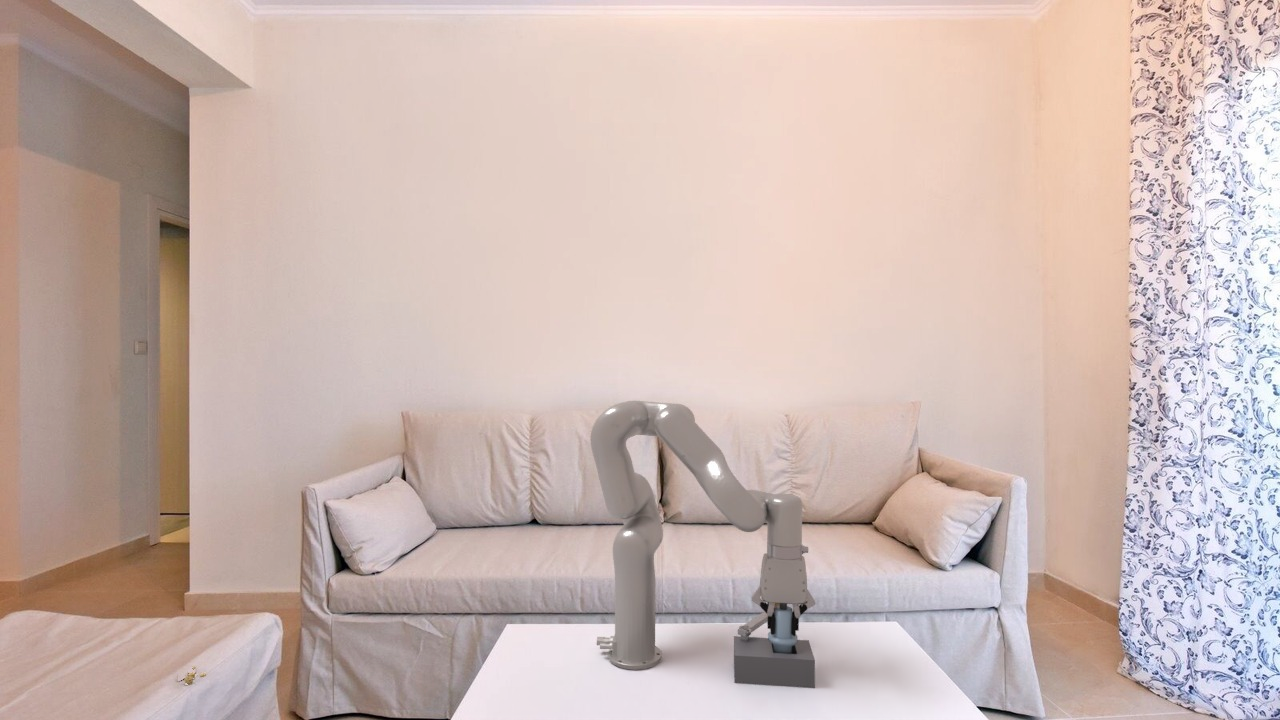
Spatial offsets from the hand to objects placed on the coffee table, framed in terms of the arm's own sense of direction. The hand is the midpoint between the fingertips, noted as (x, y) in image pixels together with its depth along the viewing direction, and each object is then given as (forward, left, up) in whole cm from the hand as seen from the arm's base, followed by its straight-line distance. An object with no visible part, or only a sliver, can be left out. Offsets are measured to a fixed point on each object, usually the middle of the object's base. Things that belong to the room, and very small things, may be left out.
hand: (782, 631), depth 147 cm
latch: (-4, +10, -2) cm, 11 cm away
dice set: (-129, -19, -10) cm, 131 cm away
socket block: (-2, 0, -10) cm, 10 cm away
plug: (0, 0, -6) cm, 6 cm away
